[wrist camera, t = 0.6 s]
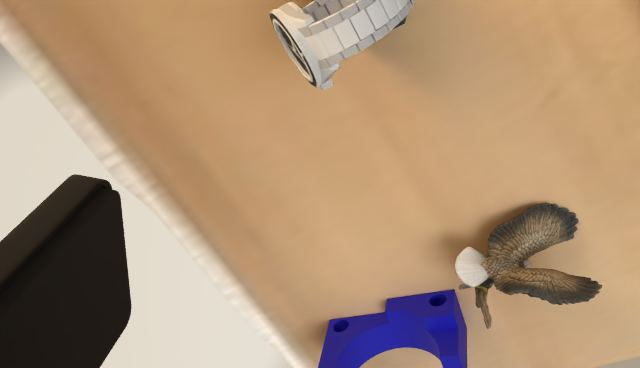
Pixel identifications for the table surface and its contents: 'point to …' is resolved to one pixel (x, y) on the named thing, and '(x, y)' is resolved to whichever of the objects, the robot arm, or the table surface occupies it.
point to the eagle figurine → (524, 260)
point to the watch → (334, 32)
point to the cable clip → (400, 332)
